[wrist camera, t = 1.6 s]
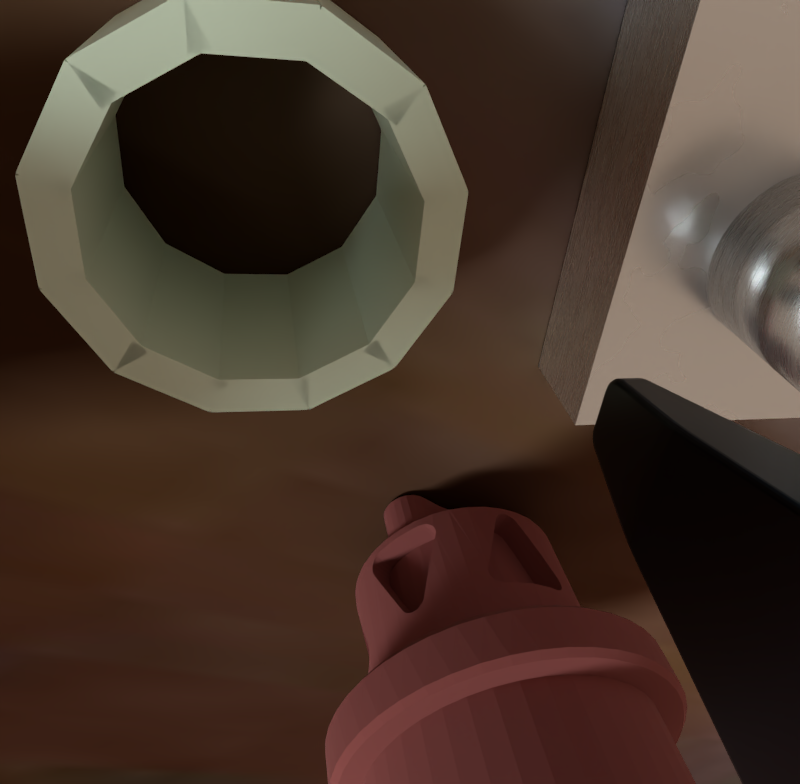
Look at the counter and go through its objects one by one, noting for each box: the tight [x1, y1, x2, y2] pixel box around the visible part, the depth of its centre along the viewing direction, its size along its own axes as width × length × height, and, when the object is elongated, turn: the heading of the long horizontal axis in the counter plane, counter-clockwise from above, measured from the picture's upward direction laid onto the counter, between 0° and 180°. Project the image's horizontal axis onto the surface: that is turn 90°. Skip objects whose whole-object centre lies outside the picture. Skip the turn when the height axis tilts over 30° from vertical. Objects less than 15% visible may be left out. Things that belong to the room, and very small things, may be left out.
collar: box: [15, 0, 468, 412], centre depth 15 cm, size 8×8×5 cm
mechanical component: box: [325, 495, 696, 784], centre depth 21 cm, size 12×10×10 cm
